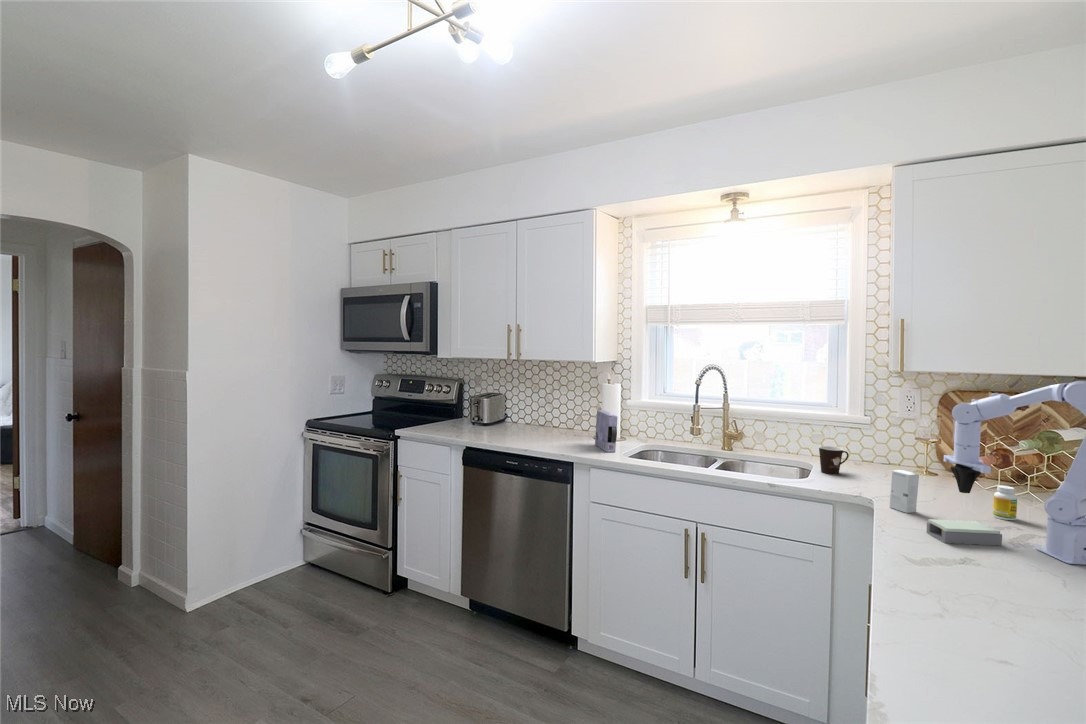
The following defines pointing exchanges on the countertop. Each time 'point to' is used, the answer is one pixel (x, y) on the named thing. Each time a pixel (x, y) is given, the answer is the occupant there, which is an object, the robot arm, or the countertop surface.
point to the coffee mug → (831, 459)
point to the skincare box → (904, 491)
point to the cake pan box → (606, 431)
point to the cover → (964, 526)
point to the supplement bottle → (1005, 503)
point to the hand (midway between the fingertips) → (964, 492)
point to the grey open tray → (964, 536)
